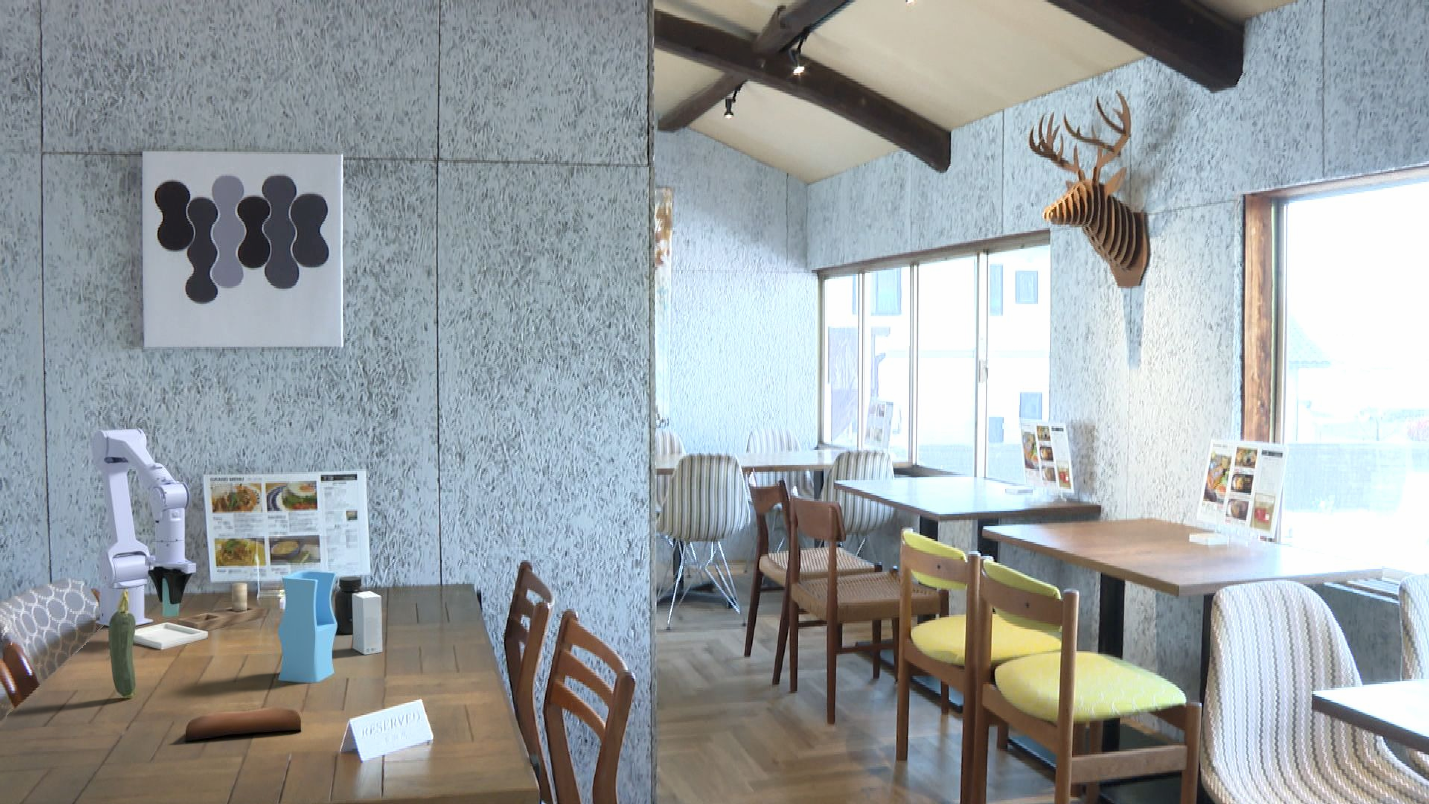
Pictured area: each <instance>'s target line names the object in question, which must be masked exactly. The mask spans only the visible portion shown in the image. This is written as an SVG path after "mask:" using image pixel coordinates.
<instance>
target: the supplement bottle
mask: <svg viewBox="0 0 1429 804" xmlns="http://www.w3.org/2000/svg"><path fill="white" fill-rule="evenodd" d="M362 585H363V584H362V577H359V576H343V577H340V578H339V579H338V588H339V589H338V590H336V591H335V592H334V594H333V613H334V616H335V619H336V621H337V630H336V633H335V634H339V635H353V607H352V594H354V593H360V592H365V590H363V589H362V588H361V587H362Z"/></svg>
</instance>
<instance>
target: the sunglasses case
mask: <svg viewBox="0 0 1429 804" xmlns="http://www.w3.org/2000/svg"><path fill="white" fill-rule="evenodd" d="M279 731H281V732H282V731H299V732H300V733H301V732H302V719H301V716H300V713H299V712H298V711H297V710H295V709H291V708H287V707H278V706H275V707H274V706H271V707H270V706H269V707H262V708H258V709H252V710H250V709H244V710H242V711H216V712H211V713H208V714H203V715H201V716H198V717H196V718H192V719H191V720H190V721H189V722H188V724H187V725H186V729H185V735H184V742H185V743H187V742H189V741H190V742H191V741H196V740H203V739H204V740H205V739H210V738H214V737H223V736H226V735H227V736H228V735H245V734H247V735H248V734H254V733H270V732H279Z"/></svg>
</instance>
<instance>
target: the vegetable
mask: <svg viewBox="0 0 1429 804" xmlns="http://www.w3.org/2000/svg"><path fill="white" fill-rule="evenodd" d="M128 608H129V594H128V590H126V589H124V592H123V593H122V595H121V599H120V601H119V604H118V607H117V609H118V612H116V613H115V614H114V615H113V616H112V617H111V619H110V622H109V626H108V633H107V634H108V646H109V655H110V664H111V666H110V667H111V674H112V680H113V681H112V682H113V686H114V688H115V691H116V692H117V694H120V695H121V696H122V698H123V699H125V700H126V699H129V698H130V699H132V698H133V695H135V694H136V689H135V688H136V673H135V672H136V671H135V665H134V659H133V657H134V656H133V648H134V643H133V640H134V635H135V630H136V621H135V618H134V616H133V615H132V614H131V613H130V612H129V611H127V610H128Z"/></svg>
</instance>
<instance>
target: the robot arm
mask: <svg viewBox="0 0 1429 804" xmlns="http://www.w3.org/2000/svg"><path fill="white" fill-rule="evenodd" d="M147 444H148V442H147V436H146V433H145V432H144V431H143V430H142V428H139V427H137V428H133V429H130V428H128V429H112V430H111V429H110V430H102V429H98V430H96V432H95V433H94V434H93V435H92V440H91V443H90V447H91V454H92V461H93V465H94V468H95V469H97V470H99V471H100V473H101V478H102V487H103V493H104V499H105V500H104V501H105V506H106V513H107V515H106V516H107V521H108V530H109V534H110V535H109V537H110V544H109V545H107V546H106V547H105V548H104V549H103V550H102V551H101V552H100V553H99V557H98V558H99V565H98V575H99V579H100V581H101V582H102V584H104V586H103V587H102V589H101V590H100V592H99V596H98V597H99V599H98V600H99V620H96V621H95V624H99V625H103V626H107V627H109V622H110V619H111V617H112V616H113V615H114V614H115V613H116V612H118V609H117V607H118V604H119V601H120V599H121V595H122V593H123V592H124V589H126V590H128V594H129V608H128V610H127V611H129V612H130V613H131V614H132V615H133V616H134V618H135V621H136V626H142V625H145V624H149V623H153V622H154V620H153V619H150V618H146V617H145V584H148V580H150V579H151V581H152V582H153V585H154V588H155V590H156V594H157V597H158V602H160V603H163V578H165V579H166V581H167V585H168V589H169V600H170V604H172V605H173V604H178V603H179V604H181V603H182V600H183V597H184V593H185V589H186V586H187V584H188V582H189V580H190V578H191V577H192V576H193V574H194V573H196V571H197V564H196V563H195V562H192V561H190V560H188V559H186V553H185V552H186V551H185V549H186V542H185V541H186V540H185V538H186V537H185V536H186V533H185V532H186V531H185V528H186V527H185V526H186V524H185V523H186V521H185V518H186V517H185V514H186V513H185V512H186V511H185V510H186V509H188V507H189V506H190V502H191V492H190V489H189V487H188V485H187V483H185V482H184V481H179V480H175V479H174V477H173V476H172V475H171V474H170V472H169V471H168V470H167V469H166V467H165V466H164V465H163V464H162V463H159V462H155V461H154V459H153V457H152V456H151V455H150V453H149V451H148V449H147ZM132 467H134V468H135V470H136V471H137V472H138V475H137V479H138V482H139V483H140V484H141V485H142V486H143V488H144V490H145V491H146V492H147V494H148V495H149V499H148V500H149V505H150V508H151V513H152V514H151V516H152V519H153V520H154V522H155V523H154V529H155V530H154V532H155V533H154V535H155V537H154V538H155V539H154V541H155V542H154V543H155V549H154V553H155V554H154V555H150V551H149V547H148V546H147V545H146V544H144V543H143V542H140V541H139V540H138V539H136V531H135V526H134V518H133V511H132V504H131V498H130V497H131V496H130V490H129V482H128V475H127V471H128V470H129V469H130V468H132Z"/></svg>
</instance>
